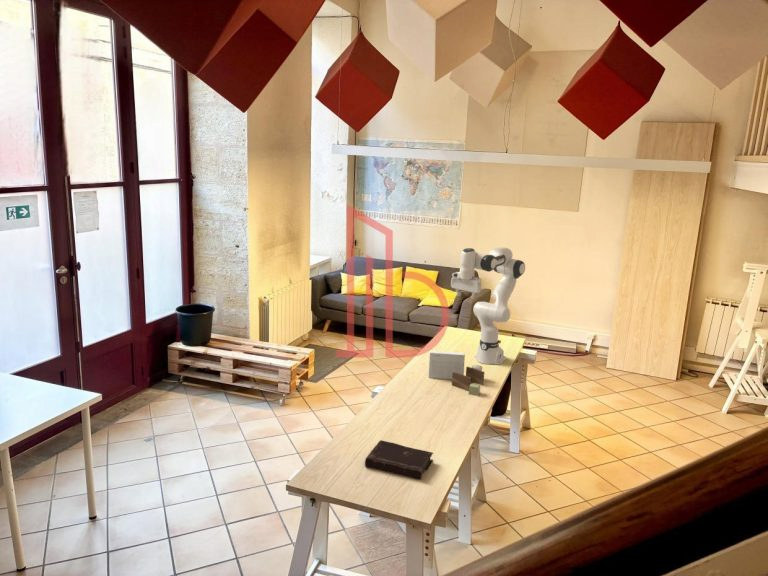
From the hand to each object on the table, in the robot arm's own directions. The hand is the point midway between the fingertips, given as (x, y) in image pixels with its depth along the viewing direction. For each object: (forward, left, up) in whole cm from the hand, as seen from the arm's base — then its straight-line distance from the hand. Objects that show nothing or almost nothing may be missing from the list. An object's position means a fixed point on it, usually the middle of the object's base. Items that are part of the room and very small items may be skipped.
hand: (465, 297), depth 364 cm
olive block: (+23, +26, -48) cm, 59 cm away
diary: (+114, +49, -48) cm, 133 cm away
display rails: (+15, +16, -48) cm, 53 cm away
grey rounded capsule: (+3, +14, -48) cm, 50 cm away
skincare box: (+15, 0, -48) cm, 50 cm away
